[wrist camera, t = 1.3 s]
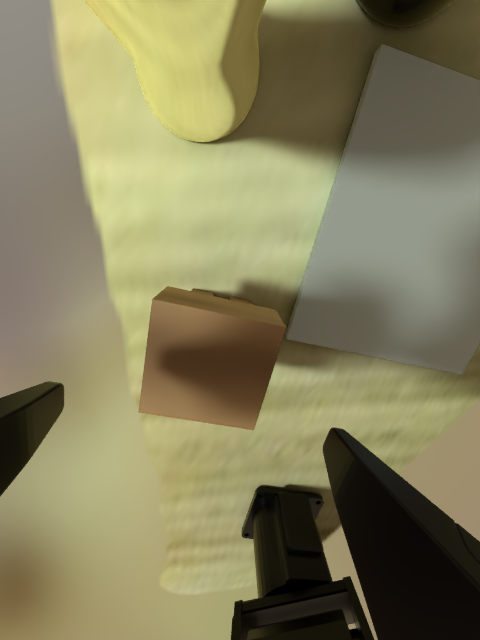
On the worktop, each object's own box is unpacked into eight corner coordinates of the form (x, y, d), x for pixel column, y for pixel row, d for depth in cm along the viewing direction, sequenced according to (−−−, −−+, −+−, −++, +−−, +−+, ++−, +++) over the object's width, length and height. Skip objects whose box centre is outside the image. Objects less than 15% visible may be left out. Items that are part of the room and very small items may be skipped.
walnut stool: (245, 363, 18) (253, 430, 12) (170, 349, 17) (138, 412, 11) (264, 292, 16) (286, 327, 10) (182, 274, 16) (152, 299, 9)
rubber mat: (454, 370, 19) (461, 374, 18) (284, 335, 17) (286, 339, 17) (595, 132, 14) (610, 128, 13) (374, 52, 12) (381, 43, 12)
